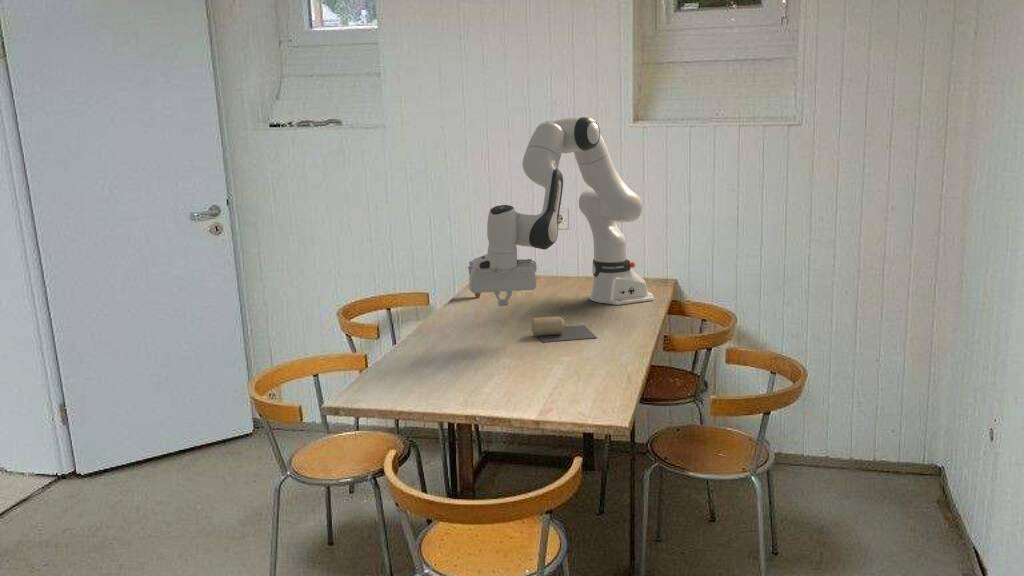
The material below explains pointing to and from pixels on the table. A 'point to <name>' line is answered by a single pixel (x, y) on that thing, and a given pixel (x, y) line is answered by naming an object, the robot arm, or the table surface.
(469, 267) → the ice cream cone
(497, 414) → the table surface
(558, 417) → the table surface
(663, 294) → the table surface
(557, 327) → the candle
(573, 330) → the mat
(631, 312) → the table surface
